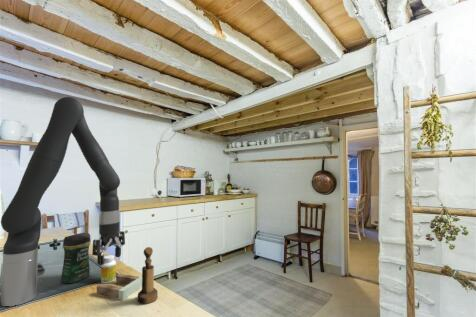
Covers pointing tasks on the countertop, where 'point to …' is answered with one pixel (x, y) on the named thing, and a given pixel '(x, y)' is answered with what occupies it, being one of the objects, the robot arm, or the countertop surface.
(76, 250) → the coffee jar
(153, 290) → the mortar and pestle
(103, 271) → the supplement bottle
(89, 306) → the countertop surface
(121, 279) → the slot holder
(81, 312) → the countertop surface
